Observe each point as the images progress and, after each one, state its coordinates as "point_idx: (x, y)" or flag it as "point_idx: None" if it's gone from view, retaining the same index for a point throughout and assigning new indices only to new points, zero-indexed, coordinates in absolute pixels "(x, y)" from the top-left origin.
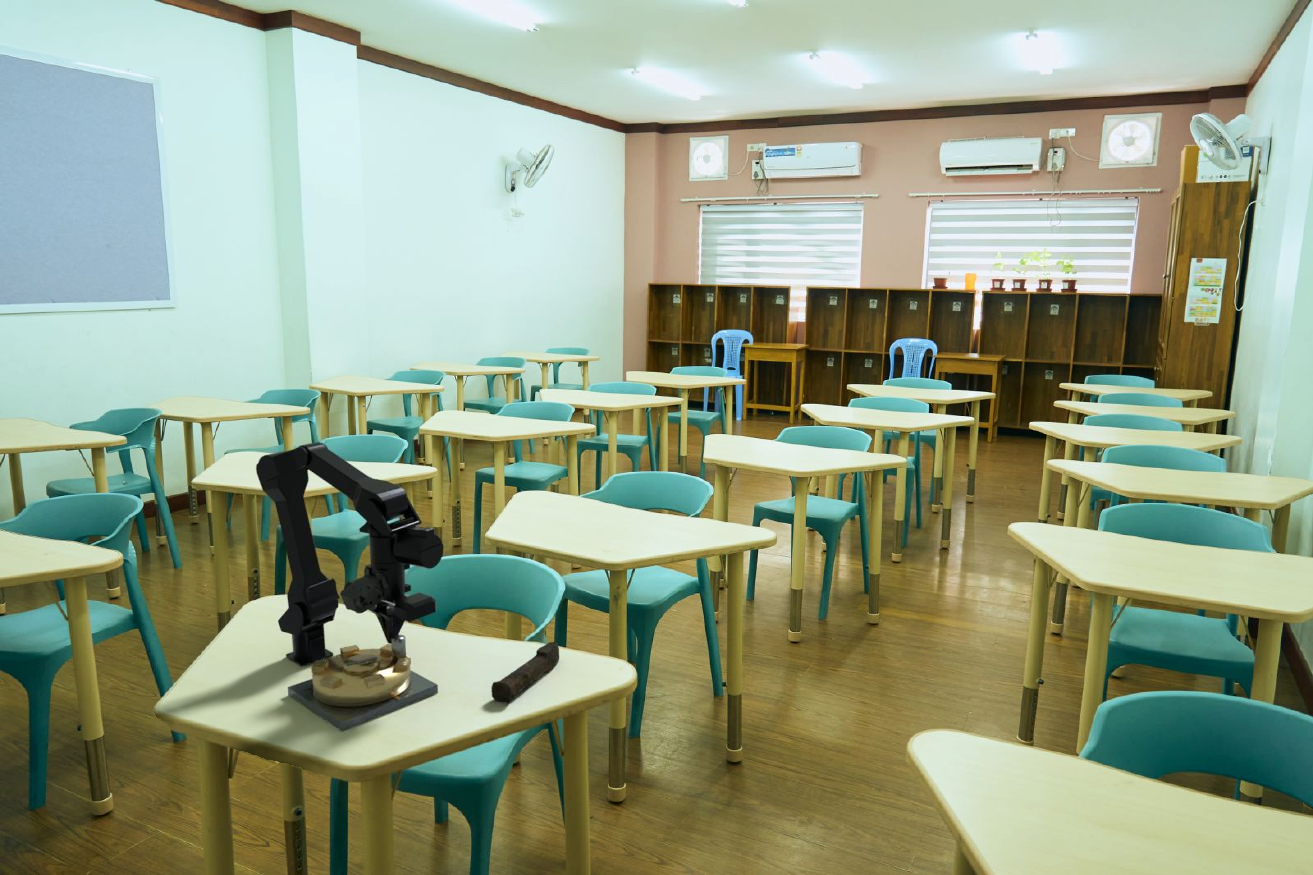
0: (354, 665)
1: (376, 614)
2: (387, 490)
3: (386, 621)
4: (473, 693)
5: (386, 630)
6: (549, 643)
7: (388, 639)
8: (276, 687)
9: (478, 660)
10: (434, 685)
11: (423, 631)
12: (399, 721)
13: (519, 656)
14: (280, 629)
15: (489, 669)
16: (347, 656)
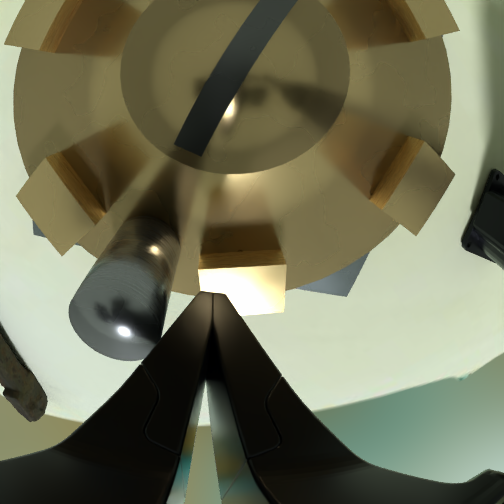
0: (233, 5)
1: (336, 476)
2: None
3: (156, 433)
4: (4, 264)
5: (203, 353)
6: (28, 417)
7: (206, 306)
8: (477, 54)
9: (129, 376)
10: (35, 226)
11: (335, 400)
12: (17, 53)
13: (93, 400)
14: None
15: (77, 356)
16: (400, 150)
